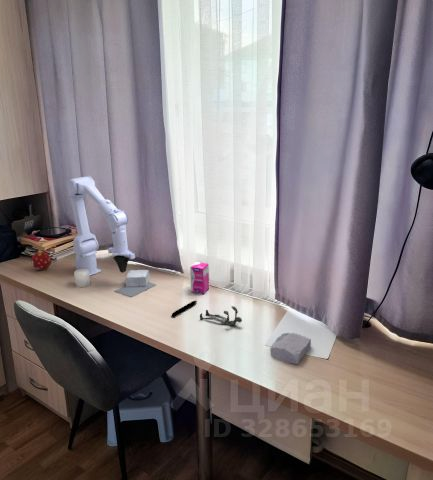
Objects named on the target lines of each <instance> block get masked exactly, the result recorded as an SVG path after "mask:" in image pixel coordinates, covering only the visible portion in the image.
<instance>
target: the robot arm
mask: <svg viewBox="0 0 433 480" xmlns="http://www.w3.org/2000/svg"><path fill="white" fill-rule="evenodd" d="M65 185H66V190H67V194H68V197H69V198H70V202H71V207H72V208H71V209H72V213H73V217H74V222H75V226H76V227H75V228H76V232H77V235H76V236H75V238H73V241H72V242H73V252H74V254H75V258H74V259H75V260H74V262H75V267H76V270H79V269H88V270H89V277H90V276H91V277H92V276H93V275H96V274H98V273H100V272H102V269H99V268H98V265H97V264H98V263H97V256H96V254H97V252H98V250H99V248H100V247H99V241H98V240H97V237H96V235H95V234H94V233H92V232H91V231H90V226H89V220H88V215H87V211H86V205H85V200H84V198H85V196H86V195H87V196H88V197H90V199H92V200H93V201H94V202H95V203H96V204H97V205H98V210H99V211H100V212H101V213H102V214H103V216H104V217H105V218H106V219H107V224H108V226H109V230H110V232H111V237H112V244H113V247H109V248H107V251H108V254H112V255H113V256H112V259H113V260H114V262H115V263H116V265H117V267H118V270H119V272H120V273H125V272H126V271H127V267H128V262H129V260H134V259H136V253H135V252H134V253H133V252H132V251H131V250H130V249H129V246H128V236H127V224H129V217H128V215H127V213H126V211H125V210H121V209H119V208H118V207H117V206H116V205H115V204H114V203H113V202H112V201H111V200H110V199H105V197H104V196H103V195H102V193H101V192H100V191H99V190H98V188H97V187H96V182H95V180H94V179H93V178H92V176H90V175H86V176H82V177H80V176H79V177H76V178H69V179H68V180H67V182H66V183H65Z"/></svg>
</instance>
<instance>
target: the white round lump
mask: <svg viewBox="0 0 433 480" xmlns="http://www.w3.org/2000/svg"><path fill="white" fill-rule="evenodd" d="M73 275H74V276H73V277H74V282H75V283H74V284H75V287H77V288H86V287H88V286H90V285H91V278H90V276H89V270H88V269H79V270H77V269H76V270H75V271H73Z"/></svg>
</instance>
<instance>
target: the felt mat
mask: <svg viewBox="0 0 433 480" xmlns="http://www.w3.org/2000/svg"><path fill="white" fill-rule="evenodd" d="M155 286H157V284H156V283H152V282H149V281H148V284H147V286H139V287H126V285H124V286H122V287H120V288H118V289H115V290H114V292H115V293H118V294H120V295H121V294H122V295H123V296H127V297H129V298H133V297H135V296H137V295H139V294H141V293H143V292H145V291H148V290H149V289H152V288H153V287H155Z"/></svg>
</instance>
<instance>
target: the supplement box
mask: <svg viewBox="0 0 433 480" xmlns="http://www.w3.org/2000/svg"><path fill="white" fill-rule="evenodd" d="M209 270H210V269H209V263H206V262H199V261H195V262H194V263H193V264H191V265H190V266H189V272H190V274H189V275H190V276H189V277H190V292H191V293H194V294H200V295H205V293H207V292H208V291H209V290H210V277H209V276H210V275H209V274H210V273H209Z"/></svg>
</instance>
